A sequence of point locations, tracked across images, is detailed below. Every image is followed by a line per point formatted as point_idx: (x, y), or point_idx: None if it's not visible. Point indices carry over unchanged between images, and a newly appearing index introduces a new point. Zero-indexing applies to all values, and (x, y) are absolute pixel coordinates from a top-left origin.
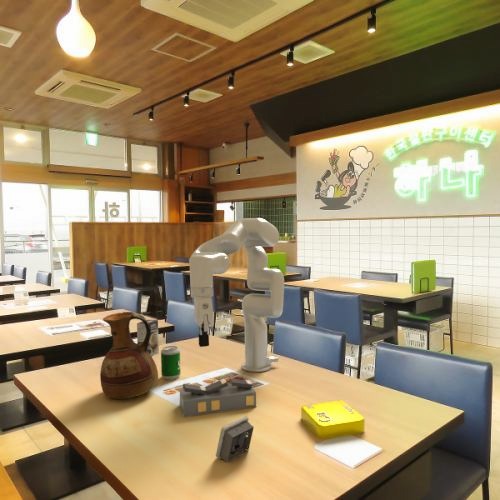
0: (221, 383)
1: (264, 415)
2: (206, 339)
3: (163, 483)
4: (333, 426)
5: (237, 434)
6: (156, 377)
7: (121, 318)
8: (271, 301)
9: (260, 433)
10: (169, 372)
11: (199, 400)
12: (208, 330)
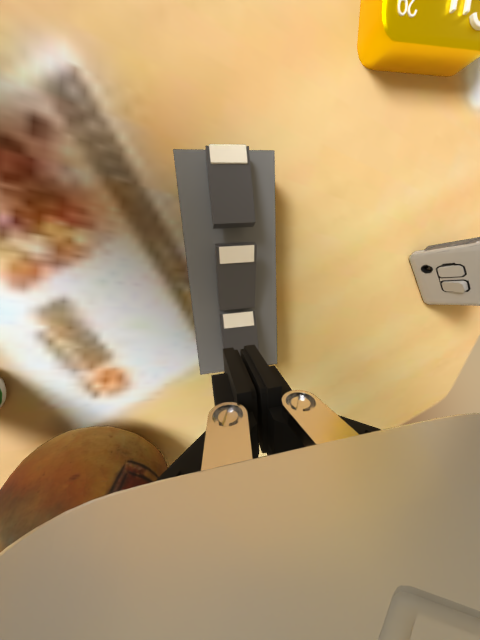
0: (246, 262)
1: (314, 164)
2: (285, 383)
3: (440, 372)
4: None
5: None
6: (104, 442)
7: None
8: None
9: (385, 203)
10: None
11: (276, 326)
12: (340, 418)
